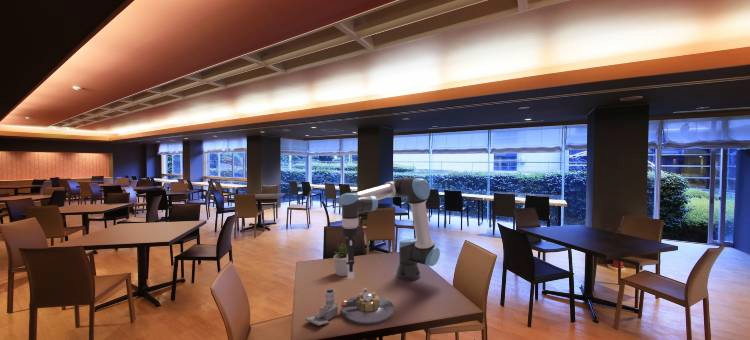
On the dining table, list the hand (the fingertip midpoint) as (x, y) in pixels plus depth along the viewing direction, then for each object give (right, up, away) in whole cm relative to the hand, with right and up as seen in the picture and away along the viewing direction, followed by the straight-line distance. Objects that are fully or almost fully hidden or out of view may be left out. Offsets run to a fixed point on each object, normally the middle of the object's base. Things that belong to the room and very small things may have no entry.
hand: (350, 272), depth 133 cm
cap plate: (+8, -21, +7) cm, 23 cm away
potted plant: (-9, -21, +56) cm, 60 cm away
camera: (-12, -21, -1) cm, 24 cm away
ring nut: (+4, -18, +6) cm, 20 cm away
